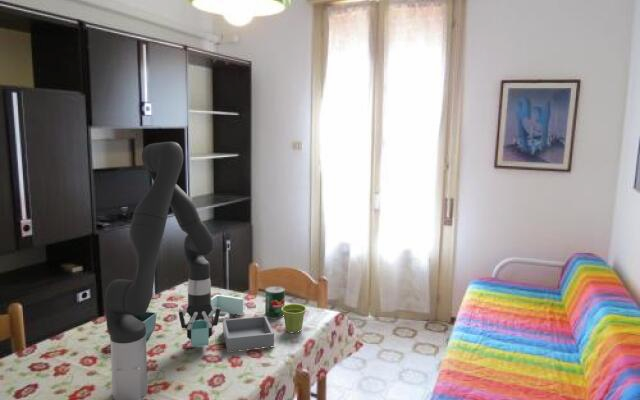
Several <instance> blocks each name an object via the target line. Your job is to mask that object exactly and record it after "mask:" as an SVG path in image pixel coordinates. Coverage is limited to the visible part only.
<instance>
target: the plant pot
mask: <svg viewBox="0 0 640 400" xmlns="http://www.w3.org/2000/svg"><path fill="white" fill-rule="evenodd" d="M282 311H283V314H284V316H283V317H284V318H283V319H284V327H285V331H286V330H287V331H289V332H294V333H297V332H298V331H300V330H301V329H302V330H303V325H304V324H303V322H304V316H305V314H306V313H305V312H306V311H307V307H306V306H305V305H303V304H300V303H289V304H284V306H283V307H282ZM302 330H301V331H302ZM287 331H286V332H287ZM301 331H300V332H301ZM289 332H288V333H289ZM298 333H299V332H298Z"/></svg>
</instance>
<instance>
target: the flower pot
mask: <svg viewBox="0 0 640 400" xmlns="http://www.w3.org/2000/svg"><path fill="white" fill-rule="evenodd" d="M133 316H134V317H135V318H137V319H138V320H140V321H142V322H143V323H144V324H145V326H146V341H147V340H148V339H150V338H151V336H152V335H153V333H154V331H155V328H156V322H157V312H153V311H146V312H145V313H144V314H142V315H133Z"/></svg>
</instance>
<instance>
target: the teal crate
mask: <svg viewBox="0 0 640 400" xmlns="http://www.w3.org/2000/svg"><path fill="white" fill-rule="evenodd" d="M209 339H210V338H209V328H208V324H207V323H206V321H205V319H204V320H196V321H195V320H194V323H193V324H192V326H191V340H190V342H191V343H190V346H191V347H192V348H193V347H194V348H195V347H206V346H209Z"/></svg>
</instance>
